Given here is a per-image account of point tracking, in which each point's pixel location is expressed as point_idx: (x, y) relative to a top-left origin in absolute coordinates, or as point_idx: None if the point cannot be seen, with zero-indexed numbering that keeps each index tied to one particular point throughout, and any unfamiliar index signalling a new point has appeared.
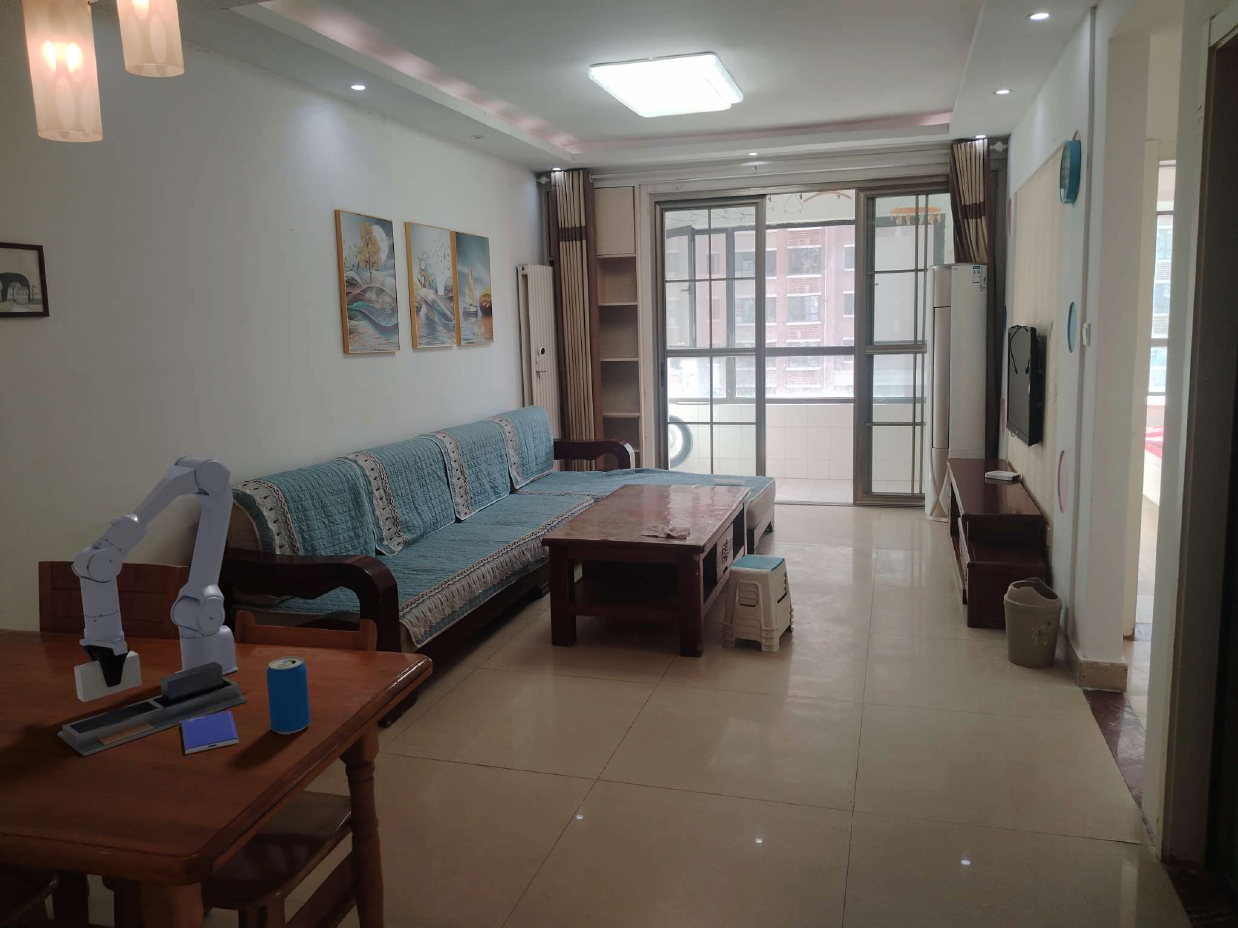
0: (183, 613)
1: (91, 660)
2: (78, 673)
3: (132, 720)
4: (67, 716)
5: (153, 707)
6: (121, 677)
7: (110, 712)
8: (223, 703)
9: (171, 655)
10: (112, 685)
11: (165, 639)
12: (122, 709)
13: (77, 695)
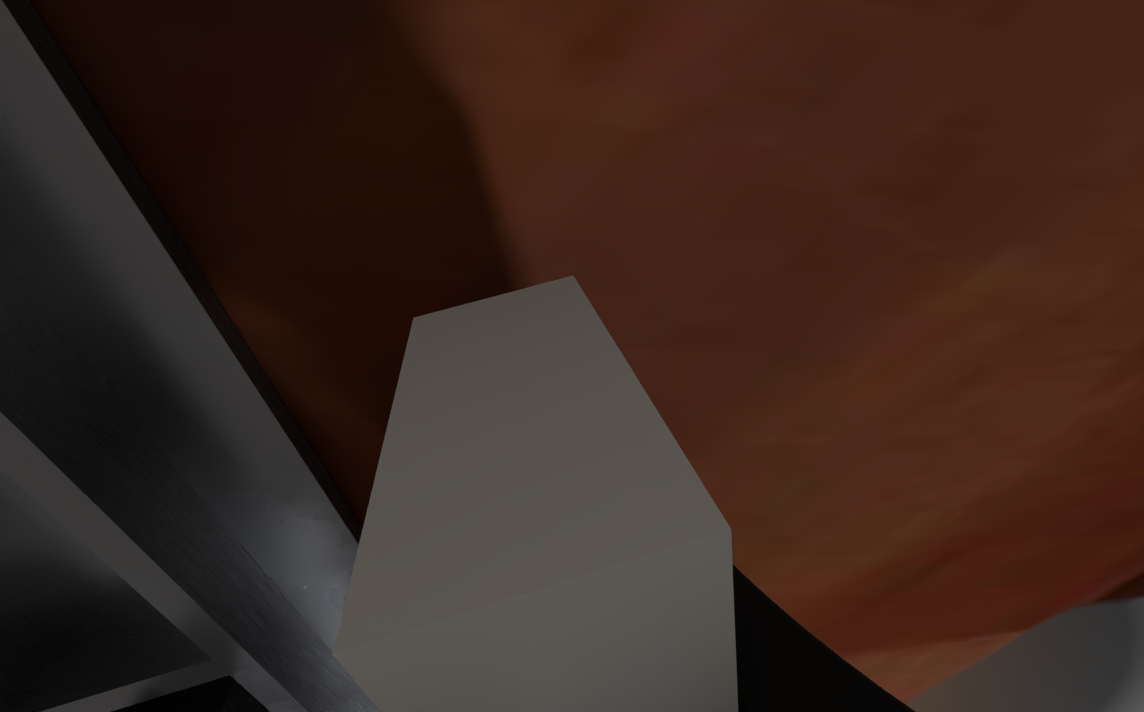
0: None
1: (811, 693)
2: (482, 516)
3: None
4: (531, 148)
5: (117, 670)
6: None
7: (25, 488)
8: None
9: (958, 603)
10: None
11: (1124, 580)
12: (102, 549)
13: (576, 284)
